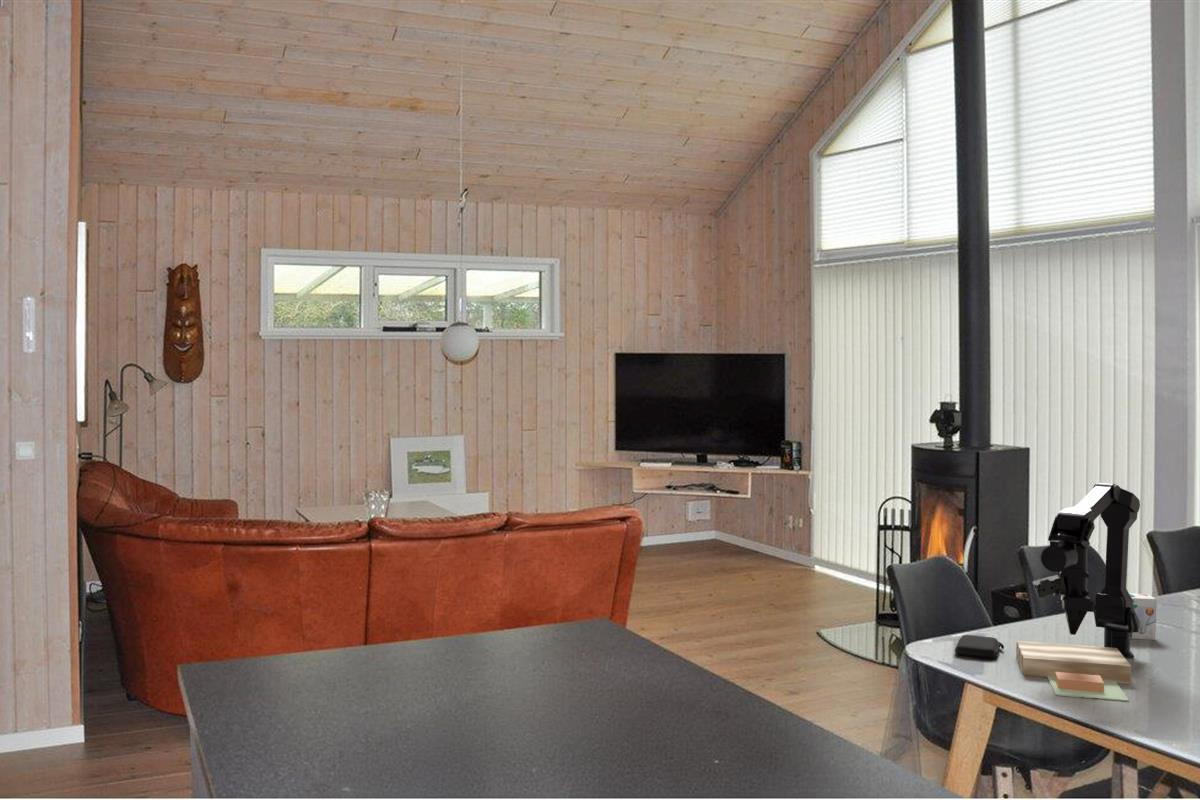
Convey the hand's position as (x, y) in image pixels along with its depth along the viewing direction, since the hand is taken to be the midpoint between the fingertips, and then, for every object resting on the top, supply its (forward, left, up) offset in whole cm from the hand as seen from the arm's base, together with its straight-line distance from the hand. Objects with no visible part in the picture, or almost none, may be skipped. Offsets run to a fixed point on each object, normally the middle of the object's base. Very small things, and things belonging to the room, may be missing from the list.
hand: (1072, 634), depth 234 cm
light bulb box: (-42, +20, -9) cm, 48 cm away
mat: (+13, +1, -9) cm, 16 cm away
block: (+13, 0, -6) cm, 14 cm away
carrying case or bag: (-12, -19, -9) cm, 25 cm away
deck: (-2, 0, -9) cm, 9 cm away
